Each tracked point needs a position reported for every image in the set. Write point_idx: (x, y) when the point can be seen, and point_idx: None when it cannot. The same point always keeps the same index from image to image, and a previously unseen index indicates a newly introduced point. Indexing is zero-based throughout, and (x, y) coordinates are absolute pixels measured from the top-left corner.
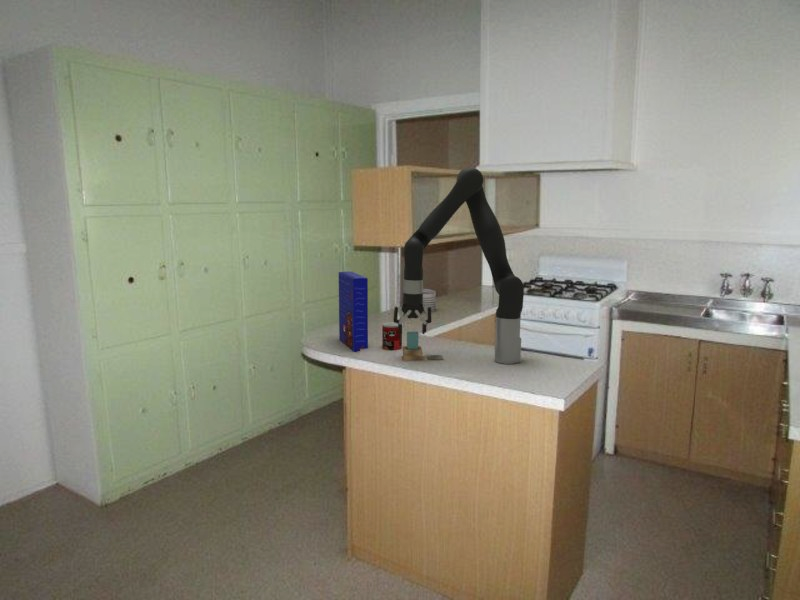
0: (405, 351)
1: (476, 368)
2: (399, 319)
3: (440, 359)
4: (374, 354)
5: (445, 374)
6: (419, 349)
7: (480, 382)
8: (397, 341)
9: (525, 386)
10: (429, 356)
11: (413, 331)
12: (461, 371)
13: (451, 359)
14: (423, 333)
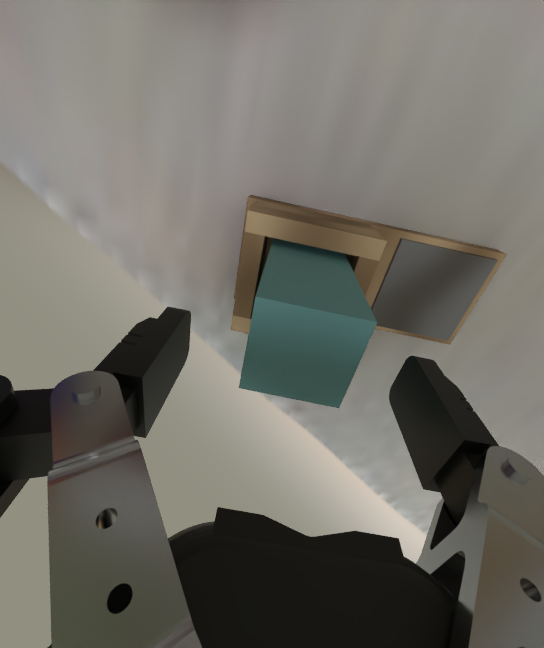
0: (239, 327)
1: (513, 430)
2: (54, 433)
3: (432, 336)
4: (67, 12)
5: (356, 450)
6: None
7: (415, 516)
8: None
9: None
10: (406, 274)
11: (331, 312)
12: None
13: (523, 290)
14: (396, 402)
